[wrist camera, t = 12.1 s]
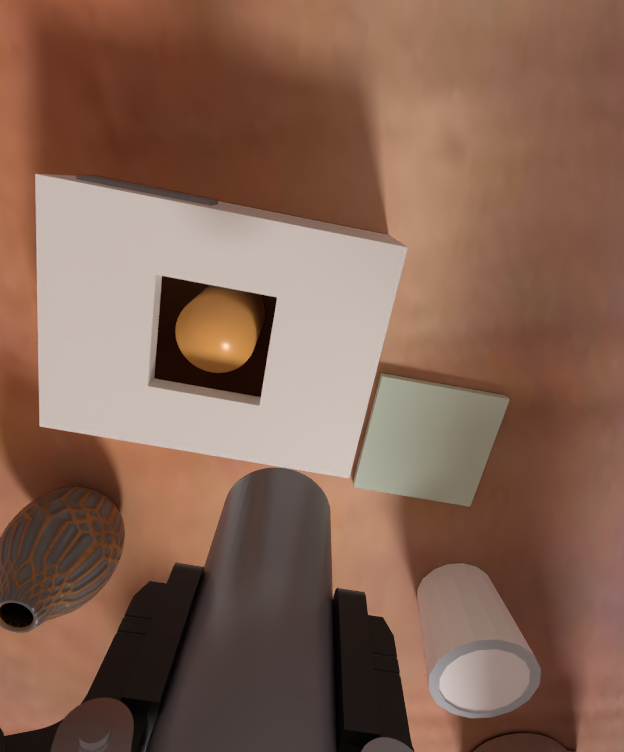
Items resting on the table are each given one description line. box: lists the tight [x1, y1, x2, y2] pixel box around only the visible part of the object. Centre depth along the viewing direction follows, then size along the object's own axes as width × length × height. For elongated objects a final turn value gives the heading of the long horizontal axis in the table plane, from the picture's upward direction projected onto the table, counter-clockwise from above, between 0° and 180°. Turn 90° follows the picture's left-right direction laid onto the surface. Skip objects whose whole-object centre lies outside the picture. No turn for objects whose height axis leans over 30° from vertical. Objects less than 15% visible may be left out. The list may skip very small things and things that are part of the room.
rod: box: [145, 468, 337, 752], centre depth 9 cm, size 4×4×14 cm
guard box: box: [35, 174, 408, 478], centre depth 26 cm, size 16×12×6 cm
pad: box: [353, 373, 510, 507], centre depth 31 cm, size 8×8×1 cm
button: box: [175, 285, 265, 373], centre depth 26 cm, size 4×4×4 cm
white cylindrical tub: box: [417, 563, 541, 718], centre depth 33 cm, size 7×7×7 cm
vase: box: [0, 487, 125, 633], centre depth 30 cm, size 7×7×9 cm
